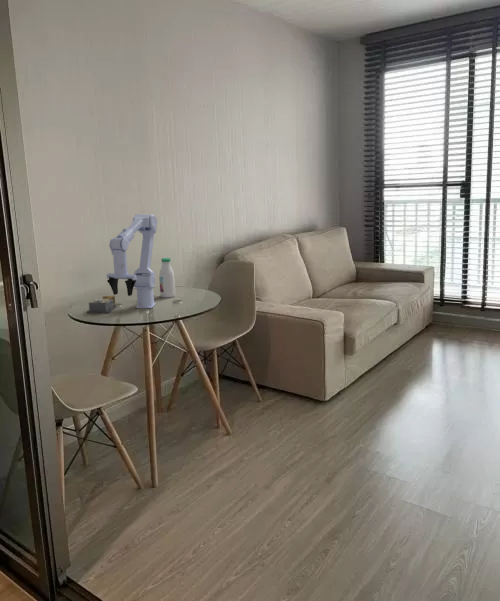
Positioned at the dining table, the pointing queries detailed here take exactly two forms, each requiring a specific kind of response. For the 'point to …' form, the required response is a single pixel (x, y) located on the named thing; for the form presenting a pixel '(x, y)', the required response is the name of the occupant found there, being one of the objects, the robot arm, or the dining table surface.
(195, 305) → the dining table surface
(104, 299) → the wooden t-shaped block
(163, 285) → the milk bottle
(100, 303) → the gauge frame
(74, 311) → the dining table surface
